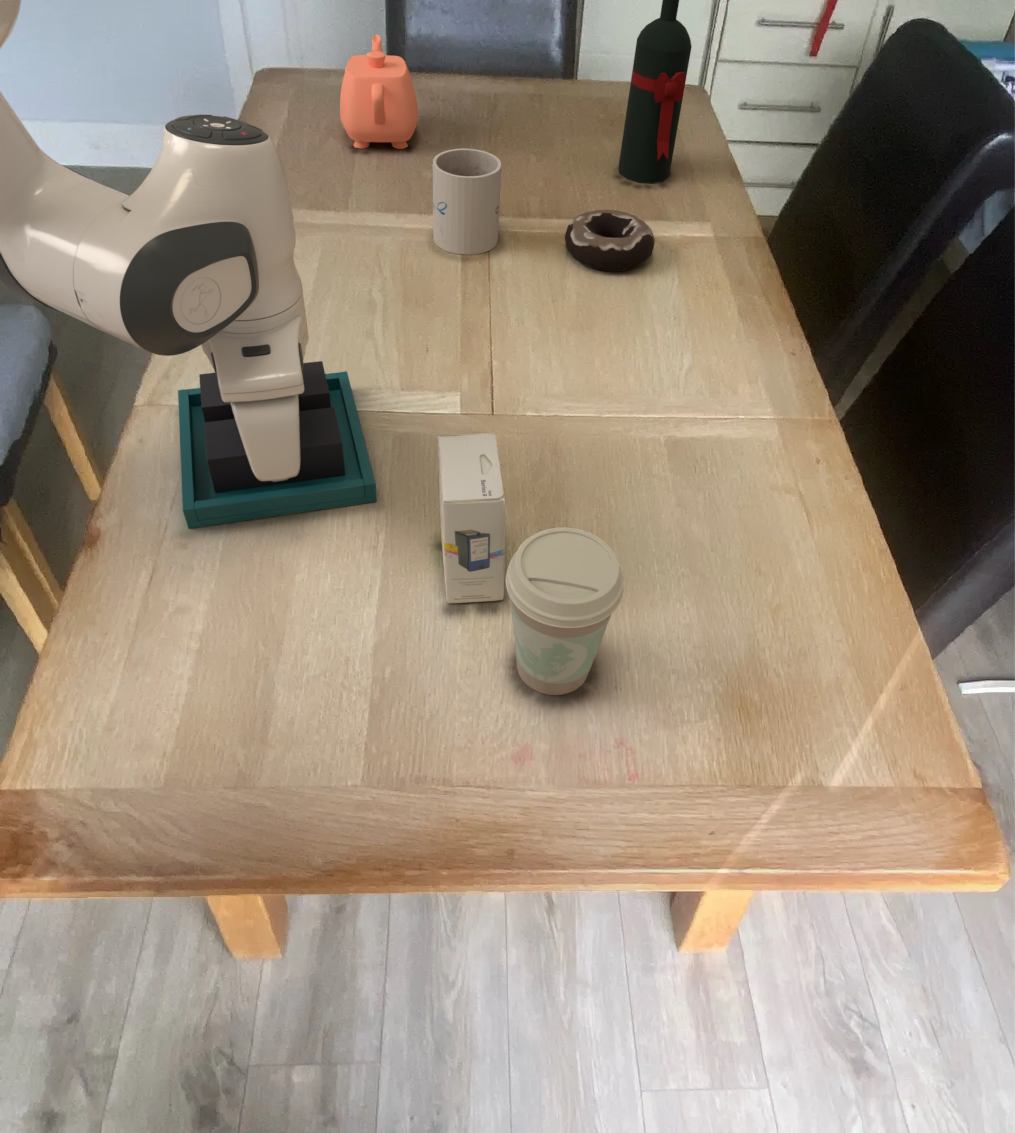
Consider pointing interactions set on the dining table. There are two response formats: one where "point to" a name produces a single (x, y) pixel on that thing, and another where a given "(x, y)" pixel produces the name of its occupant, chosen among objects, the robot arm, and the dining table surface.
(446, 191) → the mug
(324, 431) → the loose pad
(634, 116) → the wine bottle
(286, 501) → the teal tray
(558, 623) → the coffee cup
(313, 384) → the black rectangular block
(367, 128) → the teapot
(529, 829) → the dining table surface
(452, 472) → the ink box
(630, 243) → the donut
